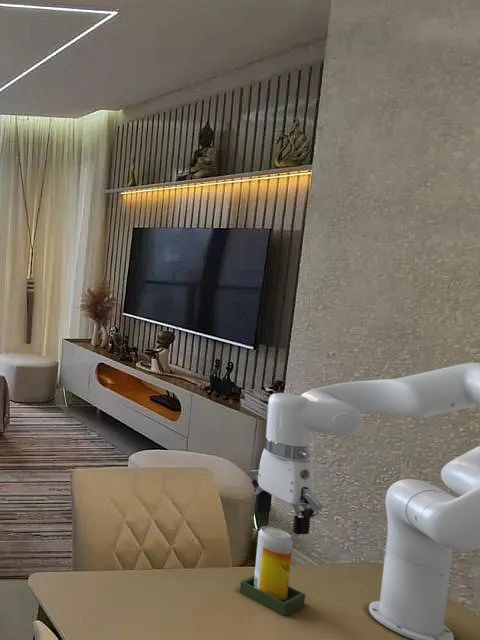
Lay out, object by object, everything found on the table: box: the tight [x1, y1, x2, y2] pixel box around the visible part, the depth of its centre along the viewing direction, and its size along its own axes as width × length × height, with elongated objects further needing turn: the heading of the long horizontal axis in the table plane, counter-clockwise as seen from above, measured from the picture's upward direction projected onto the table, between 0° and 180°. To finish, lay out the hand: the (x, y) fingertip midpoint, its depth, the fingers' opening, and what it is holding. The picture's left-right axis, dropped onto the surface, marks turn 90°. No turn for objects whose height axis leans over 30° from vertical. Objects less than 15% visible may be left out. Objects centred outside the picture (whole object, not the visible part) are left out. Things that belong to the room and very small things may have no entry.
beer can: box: [253, 525, 294, 601], centre depth 123 cm, size 6×6×15 cm
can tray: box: [239, 575, 306, 616], centre depth 123 cm, size 9×9×3 cm
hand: (281, 522), depth 122 cm, fingers open, 9 cm apart
